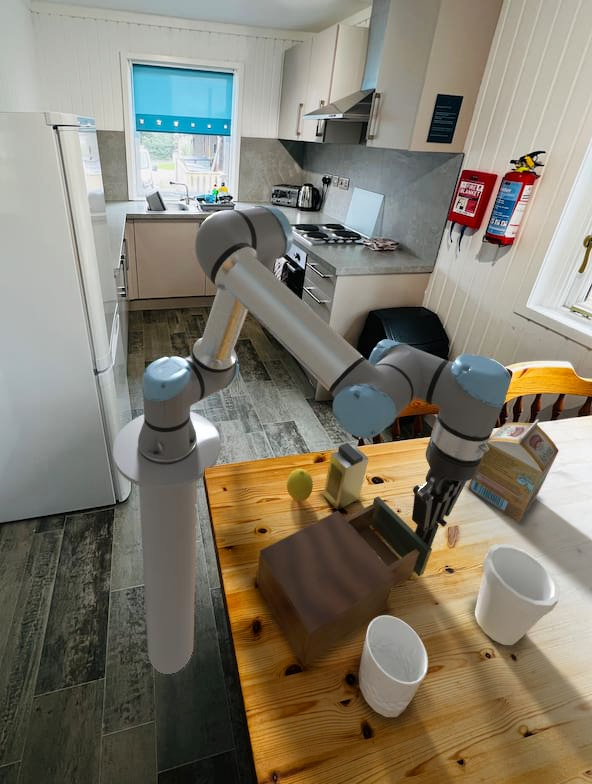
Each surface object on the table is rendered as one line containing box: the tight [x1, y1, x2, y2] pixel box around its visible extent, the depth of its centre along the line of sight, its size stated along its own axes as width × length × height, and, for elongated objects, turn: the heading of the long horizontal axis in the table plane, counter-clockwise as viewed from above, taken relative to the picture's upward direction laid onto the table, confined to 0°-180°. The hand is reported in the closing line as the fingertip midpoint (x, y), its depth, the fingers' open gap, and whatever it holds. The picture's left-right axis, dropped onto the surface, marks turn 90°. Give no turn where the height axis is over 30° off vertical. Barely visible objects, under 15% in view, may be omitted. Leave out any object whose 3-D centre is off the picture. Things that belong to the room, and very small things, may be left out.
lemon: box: [286, 468, 314, 502], centre depth 86 cm, size 6×6×8 cm
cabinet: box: [255, 510, 396, 667], centre depth 67 cm, size 18×14×9 cm
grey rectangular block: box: [322, 442, 370, 511], centre depth 86 cm, size 5×7×13 cm
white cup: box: [357, 615, 429, 718], centre depth 56 cm, size 8×8×10 cm
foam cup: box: [474, 543, 561, 646], centre depth 64 cm, size 10×9×13 cm
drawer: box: [344, 496, 433, 590], centre depth 72 cm, size 18×12×7 cm
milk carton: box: [467, 418, 560, 522], centre depth 88 cm, size 11×10×19 cm
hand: (420, 545), depth 73 cm, fingers closed
